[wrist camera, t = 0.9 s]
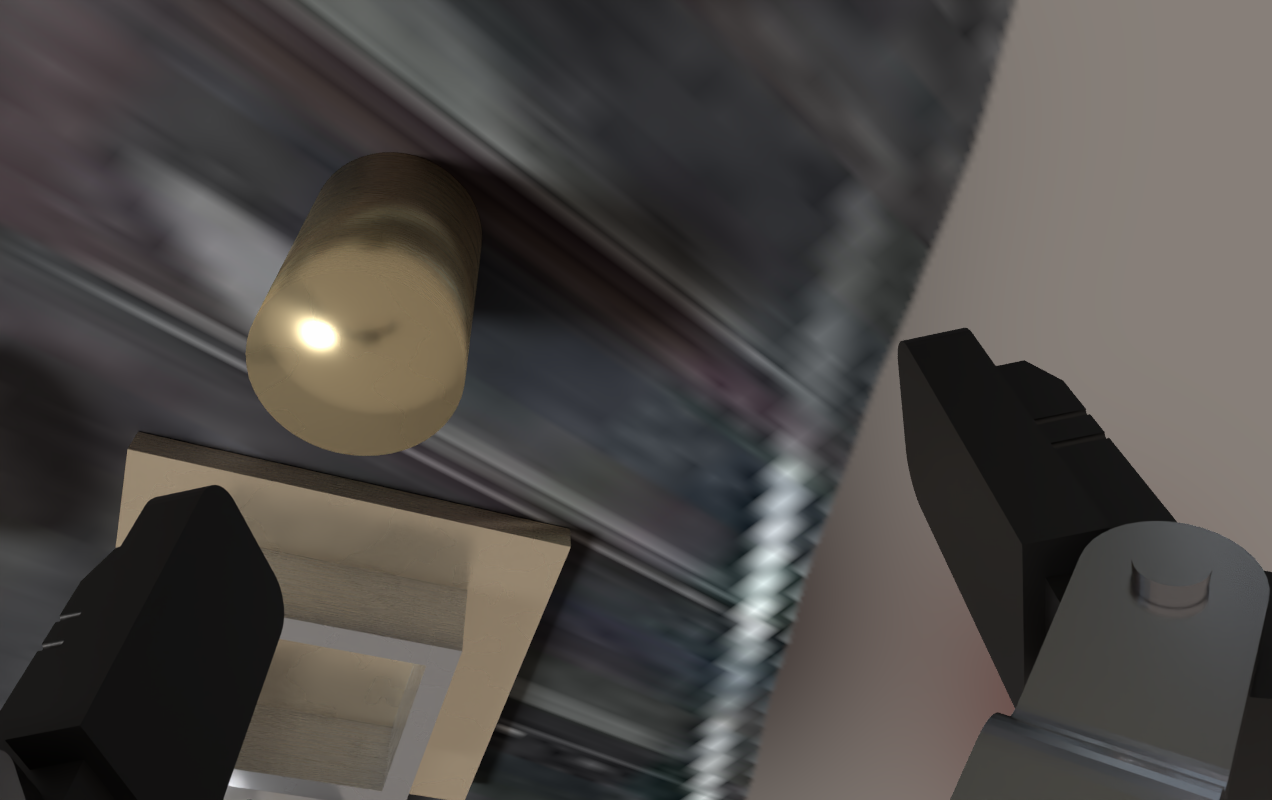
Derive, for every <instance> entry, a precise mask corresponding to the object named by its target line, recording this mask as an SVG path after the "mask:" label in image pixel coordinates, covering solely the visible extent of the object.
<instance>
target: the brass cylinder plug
mask: <svg viewBox="0 0 1272 800" xmlns="http://www.w3.org/2000/svg"><path fill="white" fill-rule="evenodd" d="M481 246H482V227H481V223H480V218H479V215H478V212H477V209H476V207H475V205H474V203H473V201H472V199H471V197H470V196H469V194H468V193H467V191H466V190H465V188H464V187H463V186H462V185H461V184H460V183H459V182H458V181H457V180H456V179H455V178H454V177H453V176H452V175H451V174H450V173H448V172H447V171H445V170H444V169H443V168H441V167H440V166H438V165H436V164H434V163H432V162H430V161H428V160H425V159H423V158H420V157H417V156H413V155H409V154H404V153H395V152H387V153H376V154H370V155H367V156H363V157H360V158H358V159H355V160H353V161H351V162H349V163H347V164H346V165H344V166H342V167H341V168H340V169H339V170H337V171H336V172H335V173H334V174H333V175H332V176H331V177H330V178H329V179H328V180H327V182H326V183H325V185H324V186H323V188H322V189H321V191H320V193H319V195H318V197H317V199H316V201H315V203H314V205H313V206H312V208H311V210H310V212H309V214H308V216H307V218H306V220H305V222H304V224H303V226H302V228H301V230H300V232H299V234H298V236H297V238H296V240H295V242H294V243H293V245H292V247H291V249H290V251H289V253H288V255H287V257H286V259H285V261H284V263H283V265H282V267H281V269H280V271H279V273H278V275H277V277H276V279H275V281H274V282H273V284H272V286H271V288H270V290H269V292H268V294H267V296H266V298H265V300H264V302H263V304H262V306H261V308H260V310H259V312H258V314H257V316H256V318H255V320H254V322H253V324H252V326H251V328H250V332H249V335H248V339H247V346H246V365H247V370H248V375H249V378H250V381H251V384H252V386H253V389H254V391H255V393H256V395H257V396H258V398H259V400H260V402H261V403H262V404H263V406H264V407H265V408H266V410H267V411H268V412H269V413H270V414H271V415H272V416H273V418H274V419H275V420H276V421H277V422H279V423H280V424H281V425H282V426H283V427H284V428H286V429H287V430H288V431H290V432H291V433H293V434H294V435H296V436H297V437H299V438H301V439H303V440H305V441H307V442H308V443H310V444H313V445H315V446H318V447H320V448H323V449H326V450H330V451H333V452H337V453H343V454H348V455H359V456H375V455H384V454H391V453H395V452H399V451H403V450H405V449H408V448H411V447H413V446H415V445H417V444H419V443H421V442H423V441H425V440H427V439H428V438H429V437H431V436H432V435H434V434H435V433H436V432H437V431H438V430H440V429H441V428H442V427H443V426H444V425H445V424H446V422H447V421H448V420H449V419H450V417H451V416H452V415H453V413H454V411H455V410H456V408H457V406H458V404H459V401H460V399H461V396H462V392H463V388H464V384H465V375H466V367H467V359H468V351H469V343H470V335H471V327H472V319H473V311H474V303H475V295H476V287H477V279H478V271H479V263H480V254H481Z"/></svg>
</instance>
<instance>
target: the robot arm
mask: <svg viewBox="0 0 1272 800" xmlns="http://www.w3.org/2000/svg"><path fill="white" fill-rule="evenodd" d="M898 365H899V377H900V389H901V400H902V410H903V421H904V433H905V443H906V454H907V461H908V466H909V471H910V476H911V480H912V484H913V487H914V491H915V494H916V497H917V500H918V502H919V505H920V507H921V509H922V511H923V513H924V516H925V518H926V520H927V522H928V524H929V526H930V528H931V531H932V533H933V534H934V537H935V539H936V541H937V543H938V545H939V547H940V550H941V552H942V554H943V556H944V558H945V560H946V562H947V565H948V567H949V569H950V571H951V573H952V575H953V577H954V579H955V582H956V584H957V586H958V588H959V590H960V592H961V594H962V596H963V598H964V601H965V603H966V605H967V607H968V609H969V611H970V614H971V616H972V618H973V620H974V622H975V624H976V626H977V628H978V631H979V633H980V635H981V637H982V639H983V641H984V643H985V645H986V648H987V650H988V652H989V654H990V656H991V658H992V660H993V662H994V664H995V667H996V669H997V671H998V673H999V675H1000V677H1001V680H1002V682H1003V684H1004V686H1005V688H1006V690H1007V692H1008V694H1009V697H1010V698H1011V701H1012V703H1013V705H1014V707H1015V710H1014V712H1013V714H1012V715H1011V716H1007V715H1004V714H1001V713H995V714H993V715H992V716H991V717H990V718H989V719H988V721H987V722H986V724H985V725H984V727H983V729H982V731H981V733H980V735H979V736H978V739H977V741H976V743H975V745H974V747H973V750H972V752H971V754H970V756H969V759H968V761H967V763H966V766H965V768H964V770H963V772H962V774H961V777H960V779H959V781H958V784H957V786H956V788H955V790H954V792H953V795H952V797H951V799H950V800H1272V572H1268V571H1263V569H1262V567H1261V566H1260V565H1259V563H1258V562H1257V561H1256V560H1255V558H1254V557H1253V556H1252V555H1251V554H1249V553H1248V552H1247V551H1246V550H1245V549H1244V548H1242V547H1241V546H1239V545H1238V544H1236V543H1235V542H1233V541H1231V540H1230V539H1228V538H1226V537H1224V536H1222V535H1220V534H1218V533H1215V532H1212V531H1210V530H1206V529H1204V528H1201V527H1196V526H1193V525H1189V524H1183V523H1177V522H1176V520H1175V519H1174V518H1173V516H1172V515H1171V514H1170V513H1169V511H1168V510H1167V509H1166V508H1165V507H1164V505H1163V504H1162V503H1161V502H1160V500H1159V499H1158V498H1157V497H1156V495H1155V494H1154V493H1153V492H1152V490H1151V489H1150V488H1149V487H1148V486H1147V484H1146V483H1145V482H1144V480H1143V479H1142V478H1141V477H1140V476H1139V474H1138V473H1137V472H1136V471H1135V469H1134V468H1133V467H1132V466H1131V464H1130V463H1129V462H1128V461H1127V459H1126V458H1125V457H1124V456H1123V454H1122V453H1121V452H1120V451H1119V449H1118V448H1117V447H1116V446H1115V445H1114V443H1113V442H1112V441H1111V440H1110V438H1107V439H1106V437H1105V434H1104V431H1103V430H1102V428H1101V427H1100V426H1099V425H1098V424H1097V422H1096V421H1095V420H1094V419H1093V417H1092V416H1091V415H1090V414H1089V415H1087V414H1086V409H1085V407H1084V406H1083V405H1082V404H1081V402H1080V401H1079V400H1078V399H1077V398H1076V396H1075V395H1074V394H1073V392H1072V391H1071V390H1070V389H1069V387H1068V386H1067V385H1066V384H1065V383H1064V381H1063V380H1061V379H1059V378H1057V377H1055V376H1053V375H1051V374H1049V373H1047V372H1046V371H1044V370H1041V369H1040V368H1038V367H1036V366H1034V365H1032V364H1030V363H1028V362H1026V361H1019V362H1015V363H1009V364H1005V365H1000V366H995V365H994V363H993V362H992V360H991V359H990V358H989V356H988V355H987V353H986V352H985V350H984V349H983V348H982V346H981V345H980V343H979V342H978V341H977V339H976V338H975V336H974V335H973V334H972V332H971V331H970V330H969V329H968V328H961V329H957V330H952V331H947V332H942V333H938V334H933V335H928V336H924V337H918V338H914V339H909V340H904V341H901V342H900V343H899V346H898ZM60 618H61V621H60V622H55V624H54V625H53V627H52V629H51V630H50V632H49V634H48V635H47V637H46V638H45V640H44V642H43V643H42V645H43V650H42V651H37V653H36V654H35V656H34V658H33V659H32V661H31V662H30V664H29V666H28V667H27V669H26V670H25V672H24V674H23V675H22V677H21V679H20V680H19V682H18V683H17V685H16V687H15V688H14V690H13V691H12V693H11V695H10V696H9V698H8V699H7V701H6V703H5V704H4V706H3V707H2V709H1V711H0V800H223V799H224V796H225V793H226V790H227V787H228V785H229V782H230V779H231V776H232V773H233V770H234V767H235V765H236V762H237V759H238V756H239V753H240V750H241V747H242V745H243V742H244V739H245V736H246V733H247V730H248V727H249V724H250V722H251V719H252V716H253V713H254V710H255V707H256V704H257V702H258V699H259V696H260V693H261V690H262V687H263V684H264V682H265V679H266V676H267V673H268V670H269V667H270V664H271V662H272V659H273V656H274V653H275V650H276V647H277V644H278V641H279V639H280V636H281V633H282V629H283V624H284V602H283V596H282V592H281V588H280V585H279V582H278V580H277V578H276V576H275V574H274V572H273V570H272V569H271V567H270V565H269V563H268V561H267V559H266V558H265V556H264V554H263V552H262V550H261V548H260V547H259V545H258V543H257V541H256V539H255V538H254V536H253V534H252V532H251V530H250V528H249V527H248V525H247V523H246V521H245V519H244V517H243V516H242V514H241V512H240V510H239V508H238V506H237V505H236V503H235V501H234V499H233V498H232V496H231V495H230V494H229V492H228V491H227V490H225V489H224V488H223V487H221V486H219V485H210V486H206V487H201V488H196V489H191V490H187V491H182V492H177V493H172V494H168V495H163V496H158V497H155V498H152V499H151V500H149V501H148V502H147V504H146V505H145V506H144V508H143V510H142V511H141V513H140V515H139V516H138V518H137V520H136V521H135V523H134V525H133V526H132V528H131V530H130V531H129V533H128V535H127V536H126V538H125V540H124V541H123V543H122V545H121V546H120V547H117V548H115V549H114V550H113V551H112V552H111V553H110V554H109V555H108V556H107V557H106V558H105V559H104V560H103V561H102V562H101V563H100V564H99V565H98V566H96V567H95V568H94V569H93V570H92V571H91V572H90V573H89V574H88V575H87V576H86V577H85V578H84V579H83V580H82V581H81V582H80V584H79V585H78V587H77V589H76V590H75V592H74V593H73V595H72V597H71V598H70V600H69V601H68V603H67V605H66V606H65V608H64V609H63V611H62V613H61V614H60Z"/></svg>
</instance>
